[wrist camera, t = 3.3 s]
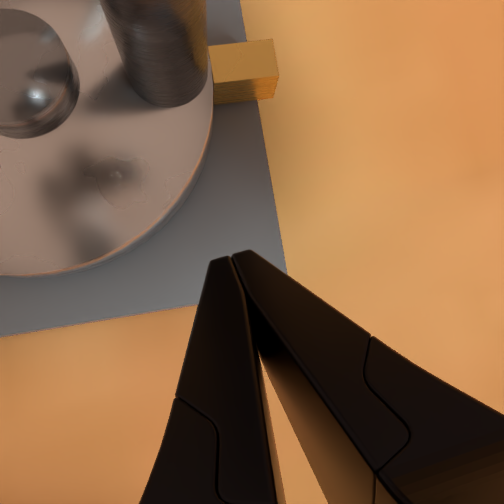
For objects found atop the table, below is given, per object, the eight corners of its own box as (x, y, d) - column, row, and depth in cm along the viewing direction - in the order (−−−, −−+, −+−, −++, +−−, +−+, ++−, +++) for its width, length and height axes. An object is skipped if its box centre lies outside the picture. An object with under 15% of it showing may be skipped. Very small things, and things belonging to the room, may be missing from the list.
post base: (279, 291, 18) (316, 280, 11) (-111, 355, 16) (-324, 385, 10) (221, -43, 19) (225, -222, 13) (-139, -10, 18) (-339, -191, 11)
